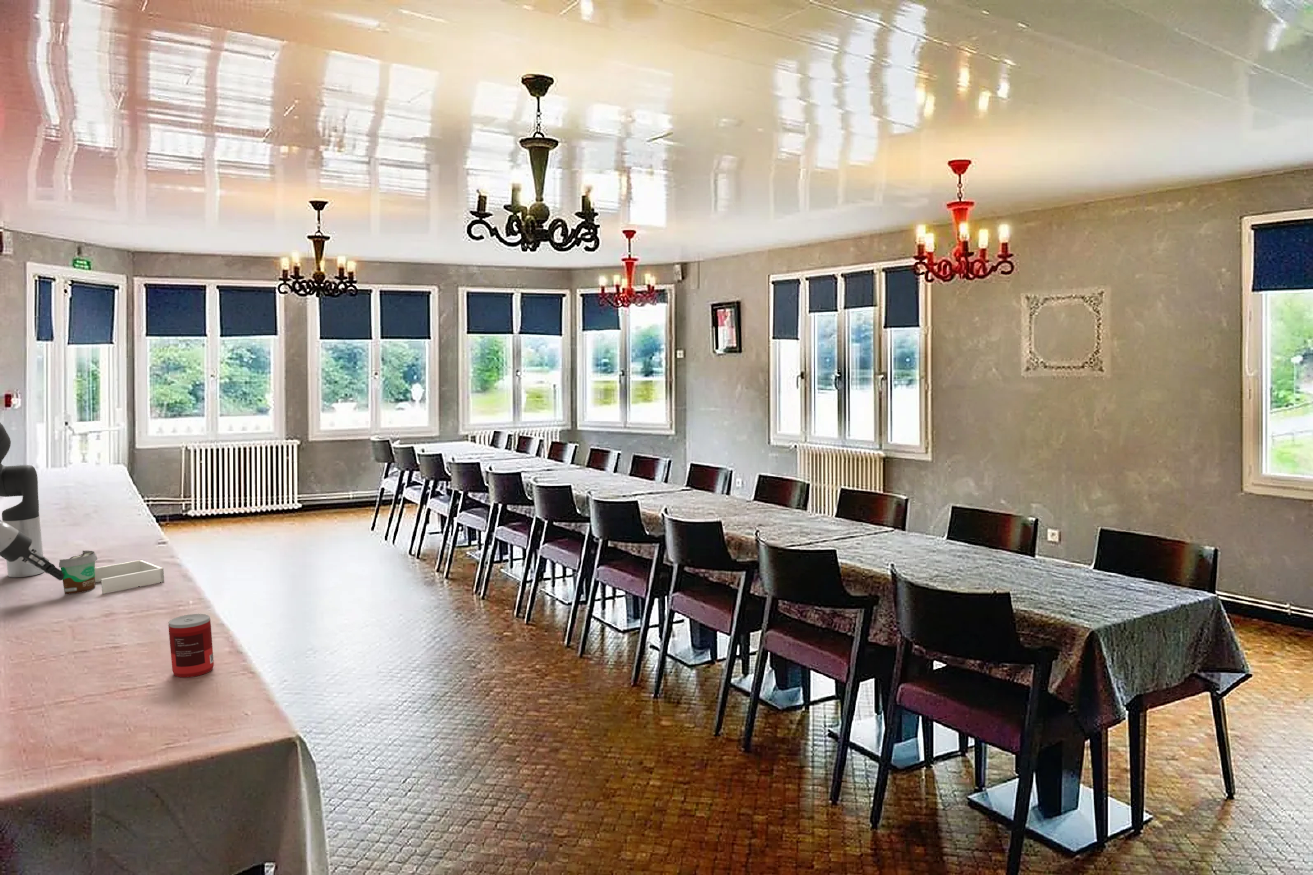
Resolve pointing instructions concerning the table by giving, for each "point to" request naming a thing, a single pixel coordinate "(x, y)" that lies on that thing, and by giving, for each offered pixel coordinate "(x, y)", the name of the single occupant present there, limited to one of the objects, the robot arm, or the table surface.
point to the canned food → (191, 645)
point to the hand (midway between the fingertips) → (63, 577)
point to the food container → (79, 572)
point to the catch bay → (128, 575)
